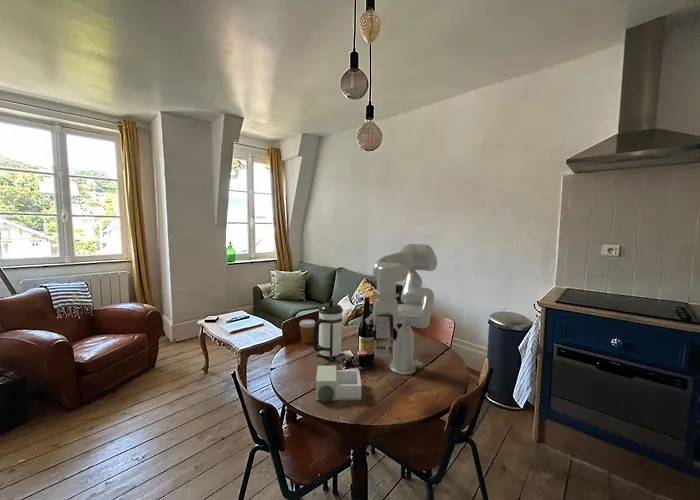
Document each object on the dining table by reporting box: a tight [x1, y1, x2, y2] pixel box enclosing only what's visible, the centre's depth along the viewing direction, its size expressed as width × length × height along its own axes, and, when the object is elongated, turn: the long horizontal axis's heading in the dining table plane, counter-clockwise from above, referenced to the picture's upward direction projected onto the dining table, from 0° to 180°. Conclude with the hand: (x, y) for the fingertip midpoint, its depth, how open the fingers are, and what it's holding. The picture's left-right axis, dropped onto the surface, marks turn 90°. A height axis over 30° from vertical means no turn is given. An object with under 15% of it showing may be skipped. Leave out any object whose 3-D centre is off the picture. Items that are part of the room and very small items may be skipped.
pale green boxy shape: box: [315, 365, 362, 404], centre depth 128 cm, size 18×16×8 cm
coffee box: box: [375, 315, 394, 358], centre depth 124 cm, size 9×6×16 cm
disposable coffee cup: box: [298, 318, 316, 344], centre depth 180 cm, size 10×10×12 cm
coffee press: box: [312, 299, 345, 362], centre depth 160 cm, size 17×16×30 cm
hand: (384, 339), depth 124 cm, fingers closed on coffee box, 7 cm apart
